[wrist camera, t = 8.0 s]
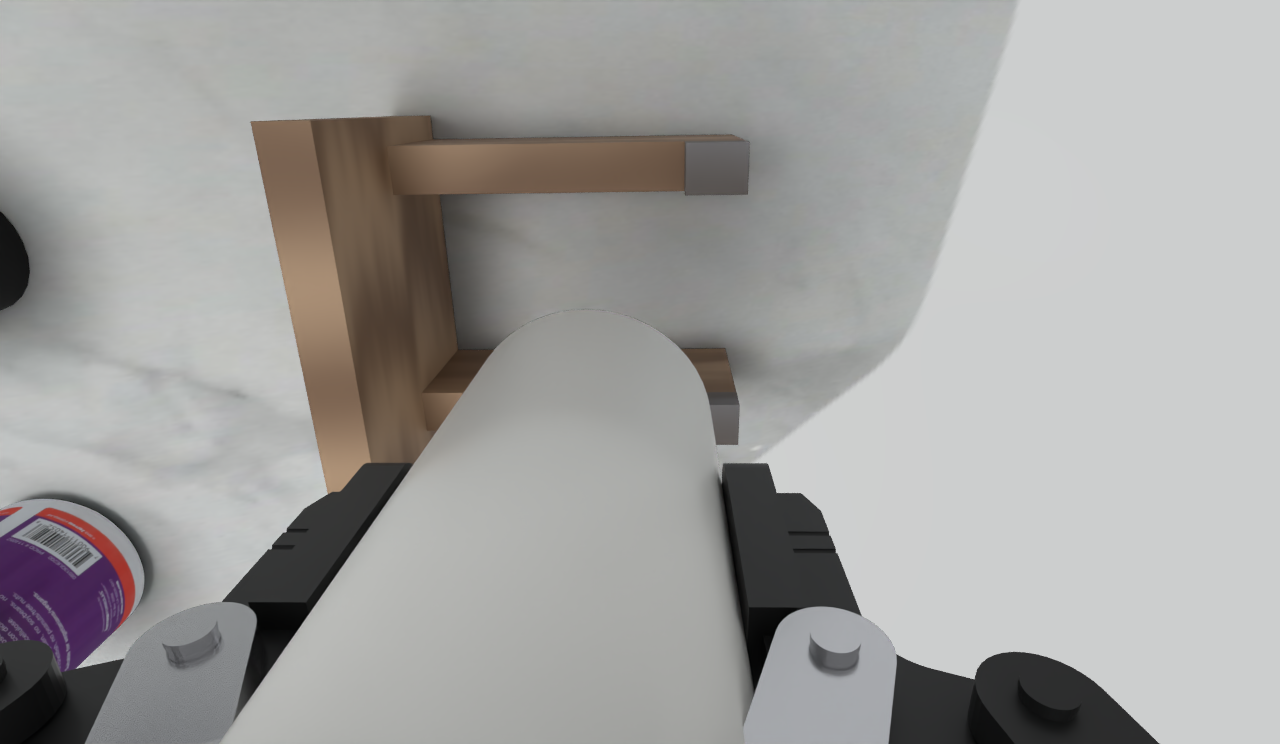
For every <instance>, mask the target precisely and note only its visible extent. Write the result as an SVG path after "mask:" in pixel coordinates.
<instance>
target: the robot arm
mask: <svg viewBox="0 0 1280 744" xmlns="http://www.w3.org/2000/svg"><path fill="white" fill-rule="evenodd" d="M412 466H413V464H412V463H365V464H363V465H362V466H361V468H360V469H359V470H358V471H357V472H356V474H355V475H354V476H353V477H352V478H351V480H350V481H349V482H348V483H347V484H346V486H345V487H344V488H343V489H342V490H341V491H340V492H331V493H329V494H328V495H326V496H324V497H323V498H321V499H319V500H318V501H316V502H315V503H313V504H311V505H310V506H308V507H307V508H305V509H304V510H303V511H302V512H301V513H300V514H299V516H298V517H297V518H296V519H295V520H294V521H293V522H292V523H291V525H290V526H289V527H288V528H287V532H286V533H283V534H282V535H281V536H280V537H279V538H278V539H277V540H276V541H275V543H274V544H273V545H272V550H269V549H268V550H267V552H266V553H265V554H264V555H263V556H262V557H261V558H260V559H259V561H258V562H257V563H256V564H255V565H254V566H253V567H252V568H251V569H250V571H249V572H248V573H247V574H246V575H245V576H244V577H243V578H242V580H241V581H240V582H239V583H238V584H237V585H236V586H235V587H234V589H233V590H232V591H231V592H230V593H229V594H228V595H227V596H226V598H225V599H224V600H223V601H222V602H216V603H210V604H204V605H200V606H197V607H193V608H190V609H187V610H184V611H182V612H180V613H177V614H175V615H173V616H171V617H169V618H167V619H165V620H163V621H161V622H160V623H158V624H157V625H155V626H153V627H152V628H151V629H149V630H148V631H147V632H145V633H144V634H143V635H142V636H141V637H140V638H139V639H138V640H137V641H136V642H135V643H134V644H133V645H132V647H131V648H130V649H129V651H128V653H127V654H126V656H125V658H124V659H121V660H116V661H111V662H106V663H102V664H97V665H92V666H87V667H83V668H78V669H73V670H69V671H64V672H61V671H60V668H59V666H58V664H57V661H56V659H55V656H54V654H53V651H52V650H51V648H50V646H48V645H47V644H45V643H43V642H40V641H35V640H17V641H10V642H5V643H0V744H219V742H220V741H221V739H222V738H223V737H224V735H225V734H226V732H227V731H228V729H229V728H230V727H231V725H232V724H233V722H234V721H235V719H236V718H237V717H238V715H239V714H240V712H241V711H242V709H243V708H244V707H245V705H246V704H247V702H248V701H249V699H250V698H251V696H252V695H253V694H254V692H255V691H256V689H257V688H258V686H259V685H260V684H261V682H262V681H263V679H264V678H265V676H266V675H267V674H268V672H269V671H270V669H271V668H272V666H273V665H274V664H275V662H276V661H277V659H278V658H279V656H280V655H281V654H282V652H283V651H284V649H285V648H286V646H287V645H288V644H289V642H290V641H291V639H292V638H293V636H294V635H295V633H296V632H297V631H298V629H299V628H300V626H301V625H302V623H303V622H304V621H305V619H306V618H307V616H308V615H309V613H310V612H311V611H312V609H313V608H314V606H315V605H316V603H317V602H318V601H319V599H320V598H321V596H322V595H323V593H324V592H325V591H326V589H327V588H328V586H329V585H330V583H331V582H332V581H333V579H334V578H335V576H336V575H337V573H338V572H339V570H340V569H341V568H342V566H343V565H344V563H345V562H346V560H347V559H348V558H349V556H350V555H351V553H352V552H353V550H354V549H355V548H356V546H357V545H358V543H359V542H360V540H361V539H362V538H363V536H364V535H365V533H366V532H367V530H368V529H369V528H370V526H371V525H372V523H373V522H374V520H375V519H376V518H377V516H378V515H379V513H380V512H381V510H382V509H383V507H384V506H385V505H386V503H387V502H388V500H389V499H390V497H391V496H392V495H393V493H394V492H395V490H396V489H397V487H398V486H399V485H400V483H401V482H402V480H403V479H404V477H405V476H406V475H407V473H408V472H409V470H410V469H411V467H412ZM722 490H723V496H724V503H725V509H726V516H727V522H728V529H729V535H730V542H731V548H732V555H733V561H734V568H735V574H736V581H737V587H738V594H739V600H740V607H741V613H742V620H743V626H744V633H745V639H746V646H747V651H748V656H749V661H750V667H751V674H752V680H753V687H754V693H755V694H754V697H753V700H752V703H751V706H750V709H749V712H748V715H747V718H746V720H745V723H744V726H743V732H744V739H745V744H1159V743H1158V742H1157V741H1156V740H1155V739H1154V738H1153V737H1152V736H1151V735H1150V734H1149V733H1148V732H1147V731H1146V730H1145V729H1144V728H1143V727H1141V726H1140V725H1139V724H1138V723H1137V722H1136V721H1135V720H1134V719H1133V718H1132V717H1131V716H1130V715H1129V714H1128V713H1127V712H1126V711H1125V710H1124V709H1123V708H1122V707H1121V706H1120V705H1119V704H1118V703H1117V702H1116V701H1114V699H1112V698H1111V697H1110V696H1109V695H1108V694H1107V693H1106V692H1105V691H1104V690H1103V689H1102V688H1101V687H1100V686H1098V685H1097V684H1096V683H1095V682H1094V681H1092V680H1091V679H1090V678H1088V677H1086V676H1085V675H1084V674H1082V673H1081V672H1079V671H1077V670H1075V669H1074V668H1072V667H1070V666H1068V665H1065V664H1063V663H1061V662H1059V661H1056V660H1053V659H1050V658H1048V657H1044V656H1040V655H1036V654H1031V653H1024V652H1022V653H1021V652H1008V653H1001V654H997V655H994V656H992V657H990V658H987V659H986V660H985V661H984V662H982V663H981V665H980V666H979V668H978V669H977V672H976V676H975V680H974V679H970V678H966V677H962V676H958V675H954V674H950V673H946V672H942V671H938V670H934V669H931V668H927V667H924V666H921V665H918V664H916V663H913V662H911V661H908V660H906V659H904V658H902V657H900V656H898V655H897V654H896V653H895V648H894V646H893V644H892V642H891V641H890V639H889V638H888V637H887V635H886V634H885V633H884V632H883V631H882V630H881V629H880V628H879V627H878V626H876V625H875V624H874V623H872V622H871V621H869V620H868V619H866V618H864V617H862V616H861V613H860V610H859V608H858V605H857V603H856V600H855V598H854V596H853V592H852V590H851V587H850V585H849V582H848V579H847V577H846V575H845V572H844V569H843V567H842V564H841V562H840V559H839V556H838V554H837V553H836V549H835V546H834V544H833V541H832V538H831V536H829V531H828V528H827V525H826V523H825V520H824V518H823V515H822V513H821V511H820V510H819V509H818V508H817V507H816V506H815V505H814V504H812V503H811V502H810V501H809V500H808V499H807V498H806V497H805V496H803V495H802V494H801V493H776V489H775V486H774V482H773V479H772V476H771V472H770V469H769V466H768V464H766V463H764V464H763V463H724V464H723V469H722Z"/></svg>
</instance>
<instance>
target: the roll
mask: <svg viewBox="0 0 1280 744" xmlns="http://www.w3.org/2000/svg"><path fill="white" fill-rule="evenodd" d="M754 694H755V693H754V687H753V680H752V674H751V667H750V661H749V656H748V651H747V646H746V639H745V633H744V626H743V620H742V613H741V607H740V600H739V594H738V587H737V581H736V574H735V568H734V561H733V555H732V548H731V542H730V535H729V529H728V522H727V516H726V509H725V503H724V496H723V490H722V480H721V474H720V467H719V461H718V455H717V448H716V442H715V435H714V429H713V422H712V416H711V410H710V405H709V400H708V395H707V393H706V390H705V387H704V384H703V382H702V380H701V378H700V376H699V374H698V372H697V370H696V368H695V367H694V365H693V364H692V363H691V361H690V360H689V358H688V357H687V356H686V355H685V354H684V352H683V351H682V350H681V349H680V348H679V347H678V346H677V345H676V344H675V343H674V342H672V341H671V340H670V339H669V338H668V337H666V336H665V335H664V334H663V333H661V332H659V331H658V330H656V329H655V328H653V327H651V326H650V325H648V324H646V323H643V322H641V321H639V320H637V319H635V318H632V317H629V316H626V315H622V314H619V313H614V312H609V311H604V310H590V309H581V310H568V311H563V312H558V313H553V314H550V315H547V316H544V317H541V318H538V319H536V320H534V321H532V322H530V323H528V324H526V325H524V326H522V327H520V328H519V329H517V330H516V331H515V332H513V333H512V334H510V335H509V336H508V337H507V338H506V339H505V340H503V341H502V342H501V343H500V344H499V345H498V346H497V347H496V349H495V350H494V351H493V352H492V353H491V355H490V356H489V357H488V359H487V360H486V361H485V363H484V364H483V366H482V367H481V369H480V370H479V371H478V373H477V374H476V376H475V377H474V379H473V380H472V381H471V383H470V384H469V386H468V387H467V389H466V390H465V391H464V393H463V394H462V396H461V397H460V399H459V400H458V402H457V403H456V404H455V406H454V407H453V409H452V410H451V412H450V413H449V414H448V416H447V417H446V419H445V420H444V422H443V423H442V424H441V426H440V427H439V429H438V430H437V432H436V433H435V434H434V436H433V437H432V439H431V440H430V442H429V443H428V444H427V446H426V447H425V449H424V450H423V452H422V453H421V454H420V456H419V457H418V459H417V460H416V462H415V463H414V465H413V466H412V467H411V469H410V470H409V472H408V473H407V475H406V476H405V477H404V479H403V480H402V482H401V483H400V485H399V486H398V487H397V489H396V490H395V492H394V493H393V495H392V496H391V497H390V499H389V500H388V502H387V503H386V505H385V506H384V507H383V509H382V510H381V512H380V513H379V515H378V516H377V518H376V519H375V520H374V522H373V523H372V525H371V526H370V528H369V529H368V530H367V532H366V533H365V535H364V536H363V538H362V539H361V540H360V542H359V543H358V545H357V546H356V548H355V549H354V550H353V552H352V553H351V555H350V556H349V558H348V559H347V560H346V562H345V563H344V565H343V566H342V568H341V569H340V570H339V572H338V573H337V575H336V576H335V578H334V579H333V581H332V582H331V583H330V585H329V586H328V588H327V589H326V591H325V592H324V593H323V595H322V596H321V598H320V599H319V601H318V602H317V603H316V605H315V606H314V608H313V609H312V611H311V612H310V613H309V615H308V616H307V618H306V619H305V621H304V622H303V623H302V625H301V626H300V628H299V629H298V631H297V632H296V633H295V635H294V636H293V638H292V639H291V641H290V642H289V644H288V645H287V646H286V648H285V649H284V651H283V652H282V654H281V655H280V656H279V658H278V659H277V661H276V662H275V664H274V665H273V666H272V668H271V669H270V671H269V672H268V674H267V675H266V676H265V678H264V679H263V681H262V682H261V684H260V685H259V686H258V688H257V689H256V691H255V692H254V694H253V695H252V696H251V698H250V699H249V701H248V702H247V704H246V705H245V707H244V708H243V709H242V711H241V712H240V714H239V715H238V717H237V718H236V719H235V721H234V722H233V724H232V725H231V727H230V728H229V729H228V731H227V732H226V734H225V735H224V737H223V738H222V739H221V741H220V742H219V744H745V739H744V732H743V726H744V723H745V720H746V718H747V715H748V712H749V709H750V706H751V703H752V700H753V697H754Z"/></svg>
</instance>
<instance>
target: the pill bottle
mask: <svg viewBox="0 0 1280 744" xmlns="http://www.w3.org/2000/svg"><path fill="white" fill-rule="evenodd" d="M143 590H144V570H143V566H142V563H141V560H140V558H139V555H138V553H137V551H136V549H135V548H134V546H133V545H132V543H131V542H130V540H129V539H128V538H127V536H126V535H125V534H124V533H123V532H122V531H121V530H120V529H119V528H118V527H117V526H116V525H115V524H114V523H112V522H111V521H110V520H108V519H107V518H106V517H104V516H103V515H101V514H100V513H98V512H96V511H94V510H92V509H90V508H87V507H84V506H81V505H78V504H75V503H72V502H68V501H62V500H56V499H32V500H25V501H21V502H17V503H14V504H11V505H9V506H7V507H4V508H2V509H0V643H5V642H10V641H17V640H35V641H40V642H43V643H45V644H47V645H48V646H50V648H51V650H52V651H53V654H54V656H55V659H56V661H57V664H58V666H59V668H60V671H61V672H64V671H69V670H73V669H76V668H77V667H78V666H79V665H80V664H81V663H82V662H83V661H84V660H85V659H86V658H87V657H88V656H89V655H90V654H91V653H92V652H93V651H94V650H95V649H96V648H98V647H99V646H100V645H101V644H102V643H103V642H104V641H105V640H106V639H107V638H108V637H109V636H110V635H111V634H112V633H113V632H114V631H115V630H116V629H117V628H118V627H119V626H120V625H121V624H122V623H123V622H124V621H125V620H126V619H127V618H128V617H129V616H130V615H131V614H132V613H133V611H134V610H135V609H136V607H137V605H138V604H139V602H140V600H141V597H142V594H143Z"/></svg>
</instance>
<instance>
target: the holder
mask: <svg viewBox="0 0 1280 744" xmlns="http://www.w3.org/2000/svg"><path fill="white" fill-rule="evenodd" d="M251 126H252V131H253V136H254V140H255V145H256V150H257V155H258V160H259V164H260V169H261V174H262V179H263V184H264V188H265V193H266V198H267V203H268V208H269V213H270V217H271V222H272V227H273V232H274V237H275V241H276V246H277V251H278V256H279V261H280V266H281V270H282V275H283V280H284V285H285V290H286V294H287V299H288V304H289V309H290V314H291V319H292V323H293V328H294V333H295V338H296V343H297V347H298V352H299V357H300V362H301V367H302V372H303V376H304V381H305V386H306V391H307V396H308V400H309V405H310V410H311V415H312V420H313V425H314V429H315V434H316V439H317V444H318V449H319V453H320V458H321V463H322V468H323V473H324V477H325V482H326V487H327V492H328V494H329V493H331V492H340V491H341V490H342V489H343V488H344V487H345V486H346V484H347V483H348V482H349V481H350V480H351V478H352V477H353V476H354V475H355V474H356V472H357V471H358V470H359V469H360V468H361V466H362V465H363V464H365V463H412V464H413V465H414V463H415V462H416V460H417V459H418V457H419V456H420V454H421V453H422V452H423V450H424V449H425V447H426V446H427V444H428V443H429V442H430V440H431V439H432V437H433V436H434V434H435V433H436V432H437V430H438V429H439V427H440V426H441V424H442V423H443V422H444V420H445V419H446V417H447V416H448V414H449V413H450V412H451V410H452V409H453V407H454V406H455V404H456V403H457V402H458V400H459V399H460V397H461V396H462V394H463V393H464V391H465V390H466V389H467V387H468V386H469V384H470V383H471V381H472V380H473V379H474V377H475V376H476V374H477V373H478V371H479V370H480V369H481V367H482V366H483V364H484V363H485V361H486V360H487V359H488V357H489V356H490V355H491V353H492V352H493V351H494V350H458V345H457V337H456V328H455V320H454V311H453V303H452V294H451V286H450V278H449V269H448V261H447V252H446V244H445V235H444V227H443V219H442V210H441V202H440V194H501V193H575V192H649V191H685V195H746V194H748V174H749V148H750V142H748V141H746V140H743V139H741V138H739V137H736V136H734V135H671V136H610V137H549V138H488V139H433V134H432V126H431V118H430V116H386V117H359V118H332V119H305V120H278V121H251ZM681 350H682V351H683V352H684V354H685V355H686V356H687V357H688V358H689V360H690V361H691V363H692V364H693V365H694V367H695V368H696V370H697V372H698V374H699V376H700V378H701V380H702V382H703V384H704V387H705V390H706V393H707V395H708V400H709V405H710V410H711V416H712V422H713V429H714V435H715V442H716V445H738V432H739V406H740V405H739V401H738V397H737V393H736V389H735V385H734V381H733V377H732V373H731V369H730V365H729V362H728V358H727V354H726V350H725V348H720V349H681Z"/></svg>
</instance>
